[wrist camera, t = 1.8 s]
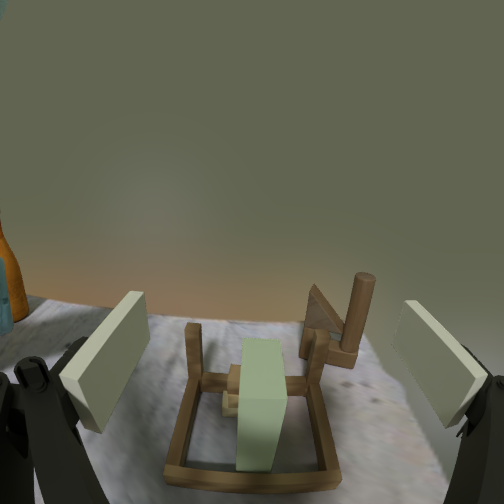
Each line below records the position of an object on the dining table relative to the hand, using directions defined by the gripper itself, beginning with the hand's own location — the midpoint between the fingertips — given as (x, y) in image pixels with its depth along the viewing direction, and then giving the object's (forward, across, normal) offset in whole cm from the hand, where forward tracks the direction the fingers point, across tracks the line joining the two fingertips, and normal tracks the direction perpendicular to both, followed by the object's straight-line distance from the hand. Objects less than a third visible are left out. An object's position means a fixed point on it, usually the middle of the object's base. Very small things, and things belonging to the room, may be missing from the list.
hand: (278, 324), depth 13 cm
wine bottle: (+32, -60, -26) cm, 73 cm away
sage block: (+10, 0, -26) cm, 28 cm away
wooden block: (+31, +14, -26) cm, 43 cm away
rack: (+13, 0, -26) cm, 29 cm away
